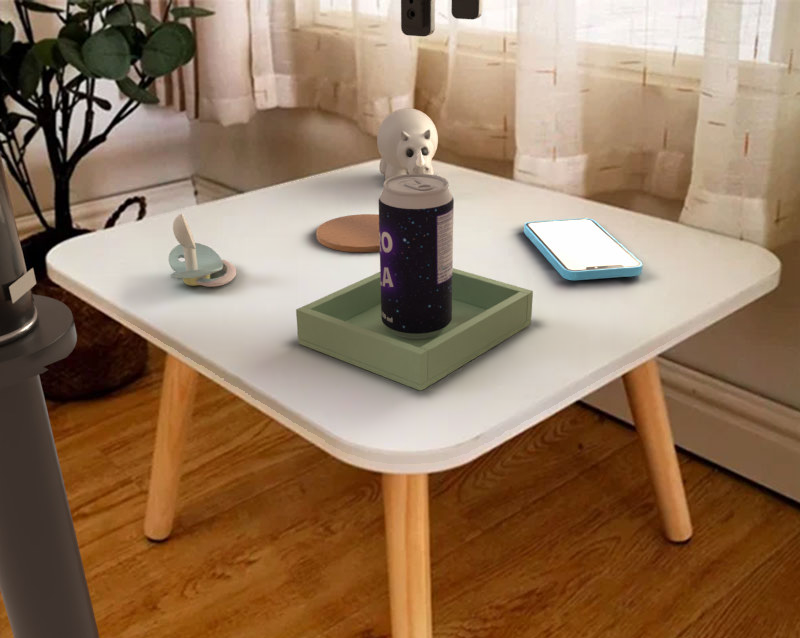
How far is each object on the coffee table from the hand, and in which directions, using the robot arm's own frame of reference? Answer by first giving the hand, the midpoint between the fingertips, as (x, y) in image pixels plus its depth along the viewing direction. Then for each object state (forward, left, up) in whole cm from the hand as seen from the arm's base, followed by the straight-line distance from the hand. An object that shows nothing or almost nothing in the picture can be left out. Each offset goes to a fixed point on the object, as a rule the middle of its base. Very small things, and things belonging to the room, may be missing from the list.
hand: (443, 26), depth 67 cm
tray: (-3, 0, -23) cm, 23 cm away
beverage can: (-3, 0, -23) cm, 23 cm away
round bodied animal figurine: (+28, +26, -23) cm, 45 cm away
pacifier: (-6, +23, -23) cm, 33 cm away
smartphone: (+21, -1, -23) cm, 31 cm away
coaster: (+12, +19, -23) cm, 32 cm away
